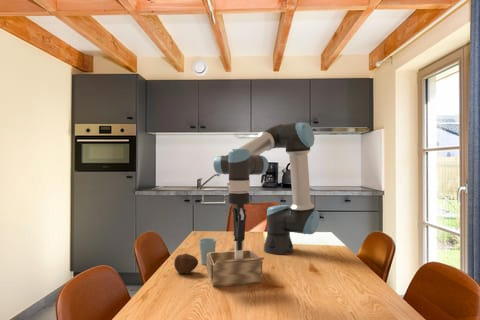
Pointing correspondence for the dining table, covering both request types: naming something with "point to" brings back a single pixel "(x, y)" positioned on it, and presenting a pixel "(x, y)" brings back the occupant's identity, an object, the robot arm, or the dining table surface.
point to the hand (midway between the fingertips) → (238, 258)
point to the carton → (233, 269)
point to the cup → (206, 248)
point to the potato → (185, 263)
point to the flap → (238, 261)
